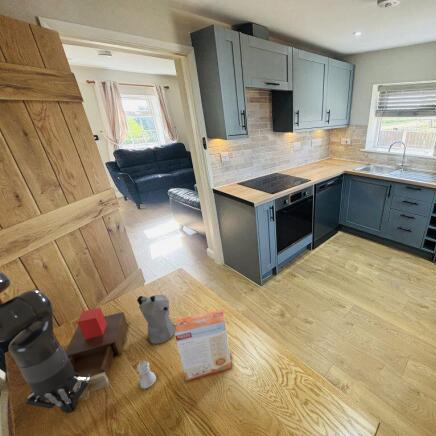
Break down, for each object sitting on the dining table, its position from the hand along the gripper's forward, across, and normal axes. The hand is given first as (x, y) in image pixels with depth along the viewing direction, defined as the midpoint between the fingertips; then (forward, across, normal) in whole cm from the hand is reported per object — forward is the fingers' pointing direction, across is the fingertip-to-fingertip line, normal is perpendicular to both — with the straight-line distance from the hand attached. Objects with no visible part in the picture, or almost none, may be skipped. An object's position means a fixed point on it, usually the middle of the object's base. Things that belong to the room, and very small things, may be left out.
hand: (71, 409), depth 64 cm
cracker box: (+4, -35, -1) cm, 35 cm away
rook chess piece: (+4, -17, -3) cm, 18 cm away
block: (-3, 0, -24) cm, 24 cm away
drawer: (+3, 0, -10) cm, 11 cm away
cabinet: (+4, 0, -24) cm, 24 cm away
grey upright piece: (+4, -19, -22) cm, 30 cm away
